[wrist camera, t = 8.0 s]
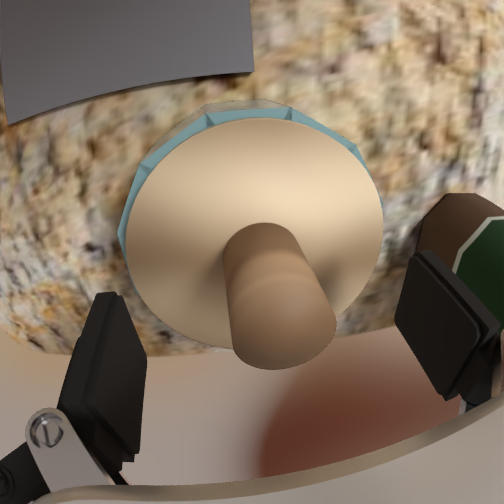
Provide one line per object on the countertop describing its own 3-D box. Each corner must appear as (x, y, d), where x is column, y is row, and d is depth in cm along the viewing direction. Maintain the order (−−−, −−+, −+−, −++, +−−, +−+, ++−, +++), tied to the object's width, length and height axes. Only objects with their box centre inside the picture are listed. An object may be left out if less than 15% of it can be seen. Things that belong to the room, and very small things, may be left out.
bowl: (129, 115, 14) (94, 133, 9) (337, 97, 15) (389, 109, 10) (164, 288, 20) (157, 352, 15) (330, 267, 21) (362, 322, 16)
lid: (103, 141, 10) (37, 187, 5) (382, 114, 11) (472, 146, 6) (163, 348, 15) (158, 434, 11) (359, 318, 16) (399, 391, 12)
